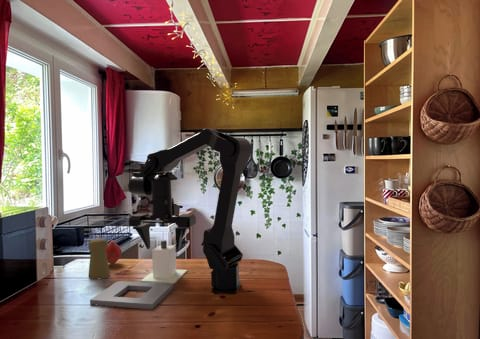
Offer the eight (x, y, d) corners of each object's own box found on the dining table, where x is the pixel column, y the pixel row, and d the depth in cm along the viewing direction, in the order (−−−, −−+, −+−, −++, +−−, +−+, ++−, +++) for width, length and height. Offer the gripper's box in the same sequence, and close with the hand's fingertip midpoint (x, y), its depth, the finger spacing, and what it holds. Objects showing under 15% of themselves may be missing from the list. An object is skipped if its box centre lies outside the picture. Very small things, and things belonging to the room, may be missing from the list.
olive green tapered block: (113, 272, 102) (112, 236, 101) (103, 279, 96) (102, 241, 95) (95, 272, 102) (93, 236, 102) (83, 279, 96) (82, 241, 96)
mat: (187, 271, 101) (187, 269, 101) (174, 283, 91) (174, 282, 91) (156, 269, 103) (156, 268, 103) (140, 281, 93) (140, 280, 93)
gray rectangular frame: (173, 288, 88) (173, 283, 88) (152, 309, 76) (152, 304, 76) (118, 285, 91) (118, 280, 91) (90, 304, 79) (90, 299, 79)
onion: (99, 266, 107) (98, 242, 107) (111, 261, 113) (110, 237, 112) (114, 268, 106) (113, 243, 105) (125, 262, 111) (124, 238, 111)
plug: (176, 272, 99) (175, 239, 98) (169, 278, 94) (168, 243, 93) (160, 271, 100) (159, 238, 99) (153, 277, 95) (151, 243, 94)
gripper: (201, 192, 102) (202, 243, 103) (145, 192, 106) (146, 241, 106) (188, 197, 91) (190, 253, 92) (126, 197, 95) (128, 251, 96)
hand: (163, 249), depth 97 cm, fingers open, 9 cm apart
